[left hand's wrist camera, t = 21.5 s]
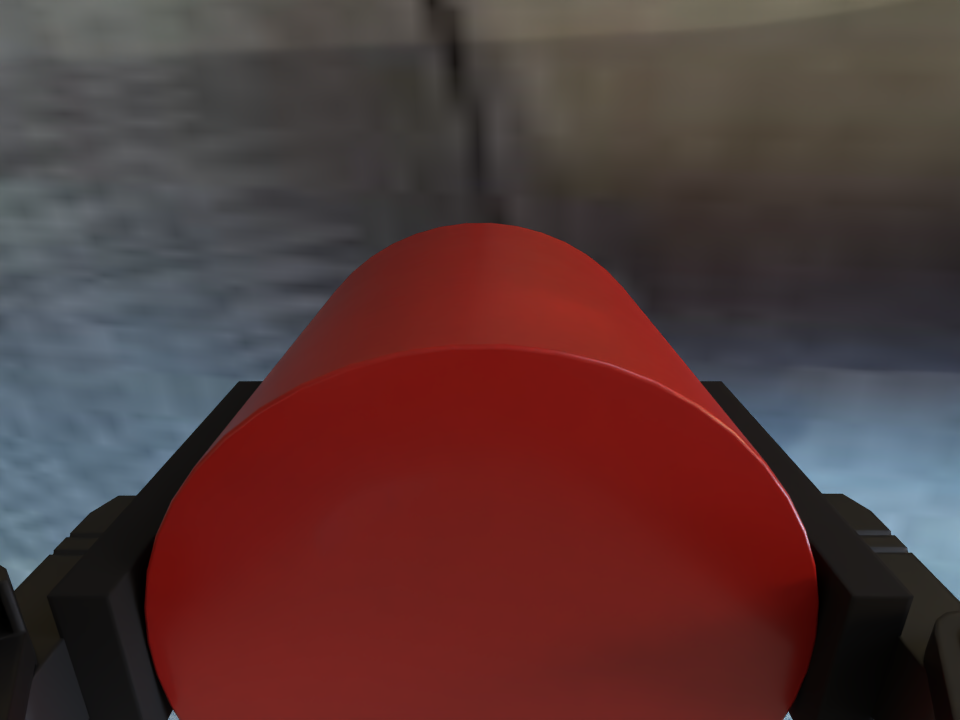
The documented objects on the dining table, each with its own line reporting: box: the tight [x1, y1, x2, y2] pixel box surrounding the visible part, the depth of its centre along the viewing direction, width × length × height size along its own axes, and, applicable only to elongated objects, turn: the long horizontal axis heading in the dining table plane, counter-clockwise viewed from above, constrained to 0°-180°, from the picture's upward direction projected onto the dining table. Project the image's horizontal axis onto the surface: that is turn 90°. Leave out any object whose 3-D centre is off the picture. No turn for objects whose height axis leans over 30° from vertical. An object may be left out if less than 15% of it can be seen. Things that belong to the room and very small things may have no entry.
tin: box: [144, 223, 819, 720], centre depth 12 cm, size 9×9×8 cm
